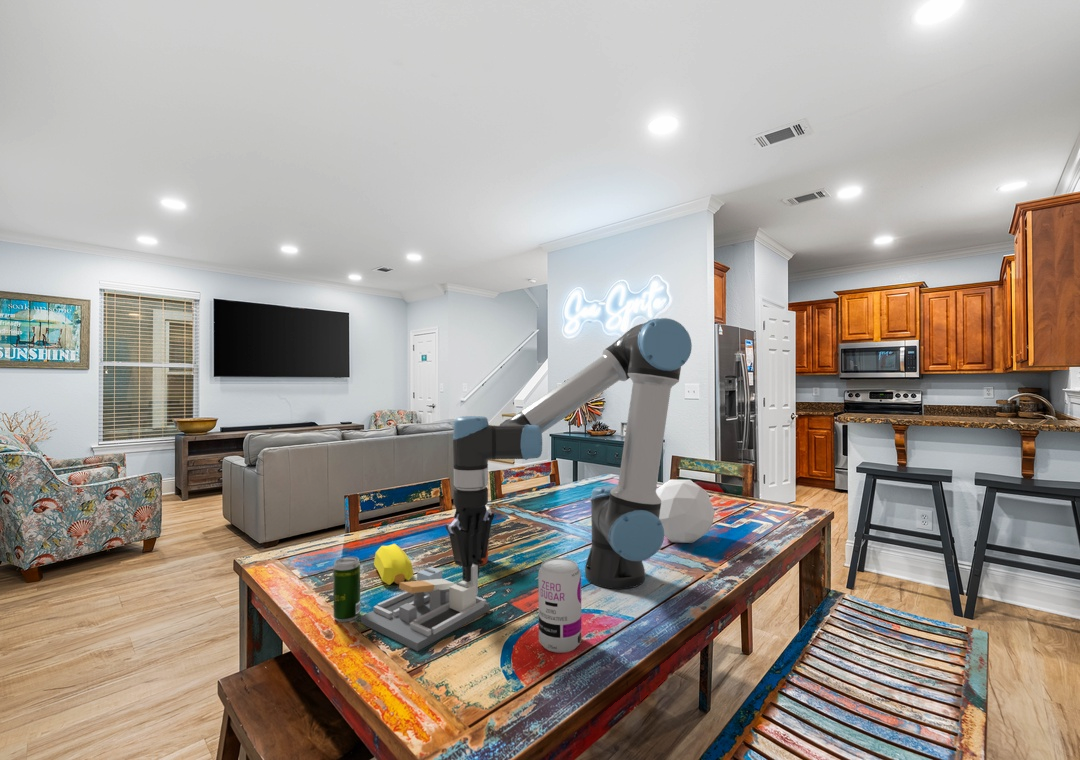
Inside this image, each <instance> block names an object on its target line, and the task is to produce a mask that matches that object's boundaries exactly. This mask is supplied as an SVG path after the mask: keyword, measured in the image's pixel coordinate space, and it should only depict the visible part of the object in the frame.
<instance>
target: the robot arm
mask: <svg viewBox="0 0 1080 760" xmlns="http://www.w3.org/2000/svg"><path fill="white" fill-rule="evenodd" d="M692 347H693V345H692V339H691V336H690V334H689V332H688V330H687V329H686V328H685V326H684V325H683V324H681V323H680V322H678V321H677V320H675V319H672V318H667V317H662V318H653V319H650V320H648V321H647V322H644V323H640V324H637V325H634V326H633V327H631V328H630V329H629V330H627V331H626V332H625V333H624V334H623V335H621V336H620V337H619V338H618V339H616V340H615V341H613V343H612V344H611V345H609V346H607V347H606V348H605V349H603V351H602V355H601V356H600V357H598V358H597V359H596V360H595V361H593V362H591V363H589V364H588V365H587V366H585V367H584V368H583V369H581V370H580V371H578V372H577V373H575V374H574V375H572V376H570V377H569V378H567V379H566V380H565V381H564V382H562V383H561V384H558V386H556V387H554V388H553V389H552V390H550V391H548V392H547V393H545V394H544V395H543V396H541V397H540V398H538V399H537V400H536V401H534V402H532V403H531V404H529V405H528V406H527V407H525V408H524V409H522V410H521V411H520V412H518V413H517V414H515V415H513V416H512V417H511V418H507V419H505V420H504V421H502V422H501V423H500V424H499V425H493V424H489V419H488V418H487V417H486V416H476V415H473V416H472V415H468V416H467V415H466V416H459V417H457V418H456V419H455V420H454V422H453V433H452V434H453V435H452V436H453V437H452V442H453V443H452V447H453V448H452V451H453V455H452V456H453V486H454V487H455V488H454V489H453V492H452V493H453V498H452V499H453V500H452V501H453V505H454V507H455V512H454V517H453V518H454V519H453V520H452V522H451V523H447V524H446V525H445V530H446V531H447V533H448V534H449V540H450V545H451V550H452V555H453V561H454V564H455V565H457V566H460V567H462V568H461V569H462V570H461V571H462V581H466V582H469V583H472V584H475V585H476V596H479V595H478V593H479V590H478V589H479V583H478V582H479V580H478V579H479V578H480V577H479V576H480V566H479V564H482V563H483V561H482V560H481V559H482V558H485V557H486V554H487V548H488V549H489V547H488V541H489V542H490V535H491V527H492V523H493V521H494V517H495V514H494V513H493V512H491V513H489V512H487V509H486V506H487V504H488V503H489V487H487V486H488V485H489V470H488V469H489V467H488V466H489V462H488V461H489V460H493V461H494V460H525V461H528V460H531V459H532V460H533V459H539V458H540V457H541V455H542V454H543V433H544V432H546V431H548V430H549V429H550V428H552V427H553V426H555V425H556V424H558V423H559V422H561V421H562V420H563V419H565V418H566V417H568V416H569V415H571V414H572V413H574V412H575V411H577V410H579V409H580V408H581V407H583V406H584V405H585V404H587V403H588V402H590V401H591V400H593V399H594V398H596V397H597V396H599V395H601V394H602V393H603V392H604V391H606V390H607V389H609V388H611V387H612V386H614V384H616V383H618V382H619V381H621V382H626V381H627V380H629V379H630V380H631V382H632V388H631V394H630V402H629V408H628V416H627V420H626V421H627V422H626V427H625V428H626V429H625V433H624V434H625V435H624V441H623V442H624V443H623V448H622V454H621V461H620V462H621V463H620V468H619V474H618V475H619V477H618V483H617V485H607V486H606V485H603V486H597V487H594V488H593V489H592V490H591V496H590V503H591V504H590V505H591V508H590V509H591V510H590V511H591V514H590V515H591V518H590V519H591V547H590V550H589V553H588V557H587V559H586V563H585V565H584V567H585V568H584V576H585V578H586V580H587V581H588V582H589V583H591V584H593V585H596V586H597V587H602V588H606V589H616V590H617V589H618V590H619V589H623V590H624V589H630V588H635V587H637V586H640V585H642V584H643V583H644V582H645V579H646V576H645V575H646V572H645V571H646V569H645V566H644V563H643V561H645V560H649V559H650V558H652V557H653V556H654V555H655V554H657V553H658V552H659V550H660V549H661V547H662V545H663V542H664V540H665V536H664V528H663V525H662V523H661V521H660V519H659V515H660V508H661V499H660V498H659V497H658V495H657V494H656V489H657V488H658V487H657V485H658V479H659V471H660V465H661V457H662V452H663V444H664V438H665V431H666V424H667V423H666V422H667V417H668V411H669V410H668V409H669V404H670V403H669V402H670V397H671V390H672V388H673V387H674V386H675V385H676V384H678V383H679V382H680V376H681V369H682V367H683V366H684V365H685V364H686V363H687V361H688V359H690V357H691V353H692ZM481 551H482V552H481Z"/></svg>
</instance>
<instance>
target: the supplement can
mask: <svg viewBox="0 0 1080 760" xmlns="http://www.w3.org/2000/svg"><path fill="white" fill-rule="evenodd" d="M537 574H538V580H537V581H538V582H537V583H538V588H537V589H538V594H537V595H538V642H539V643H540V645H541V646H543V648H544V649H545V650H547V651H549V652H553V653H556V654H557V653H559V654H561V653H563V654H564V653H570V652H572V651H574V650H575V649H576V648H578V646H579V645H581V642H582V573H581V570H580V567H579V565H578V563H577V562H576V561H574V560H572V559H569V558H561V557H560V558H559V557H555V558H550V559H545V560H544V561H542V562H541V566H540V568H539V570H538V573H537Z"/></svg>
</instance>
